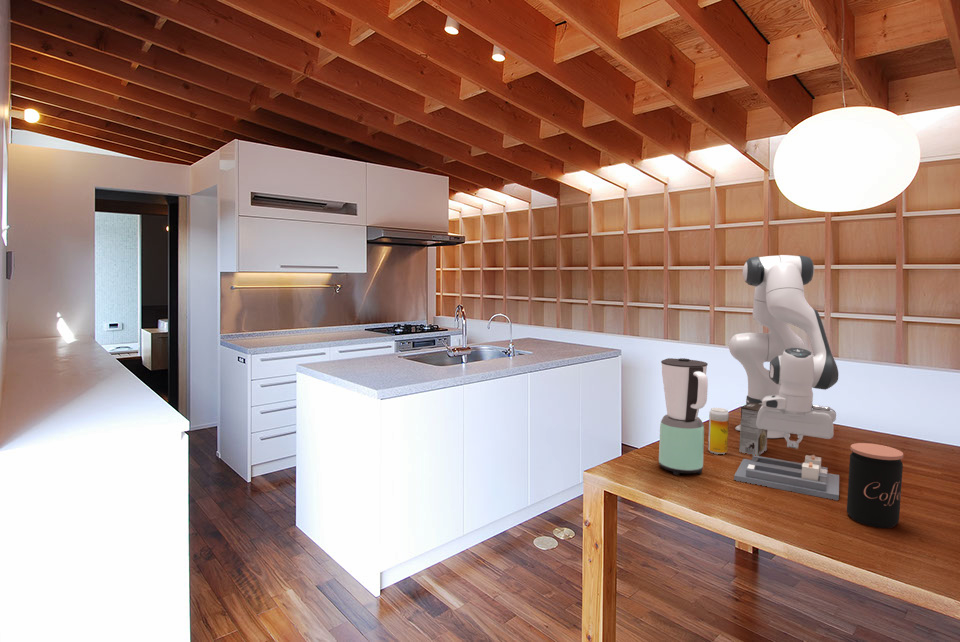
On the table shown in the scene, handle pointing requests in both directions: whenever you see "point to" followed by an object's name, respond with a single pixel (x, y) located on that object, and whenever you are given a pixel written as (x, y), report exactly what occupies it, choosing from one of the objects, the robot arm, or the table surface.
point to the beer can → (718, 430)
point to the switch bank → (787, 477)
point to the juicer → (683, 415)
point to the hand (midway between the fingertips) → (792, 447)
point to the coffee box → (751, 431)
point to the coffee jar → (874, 485)
